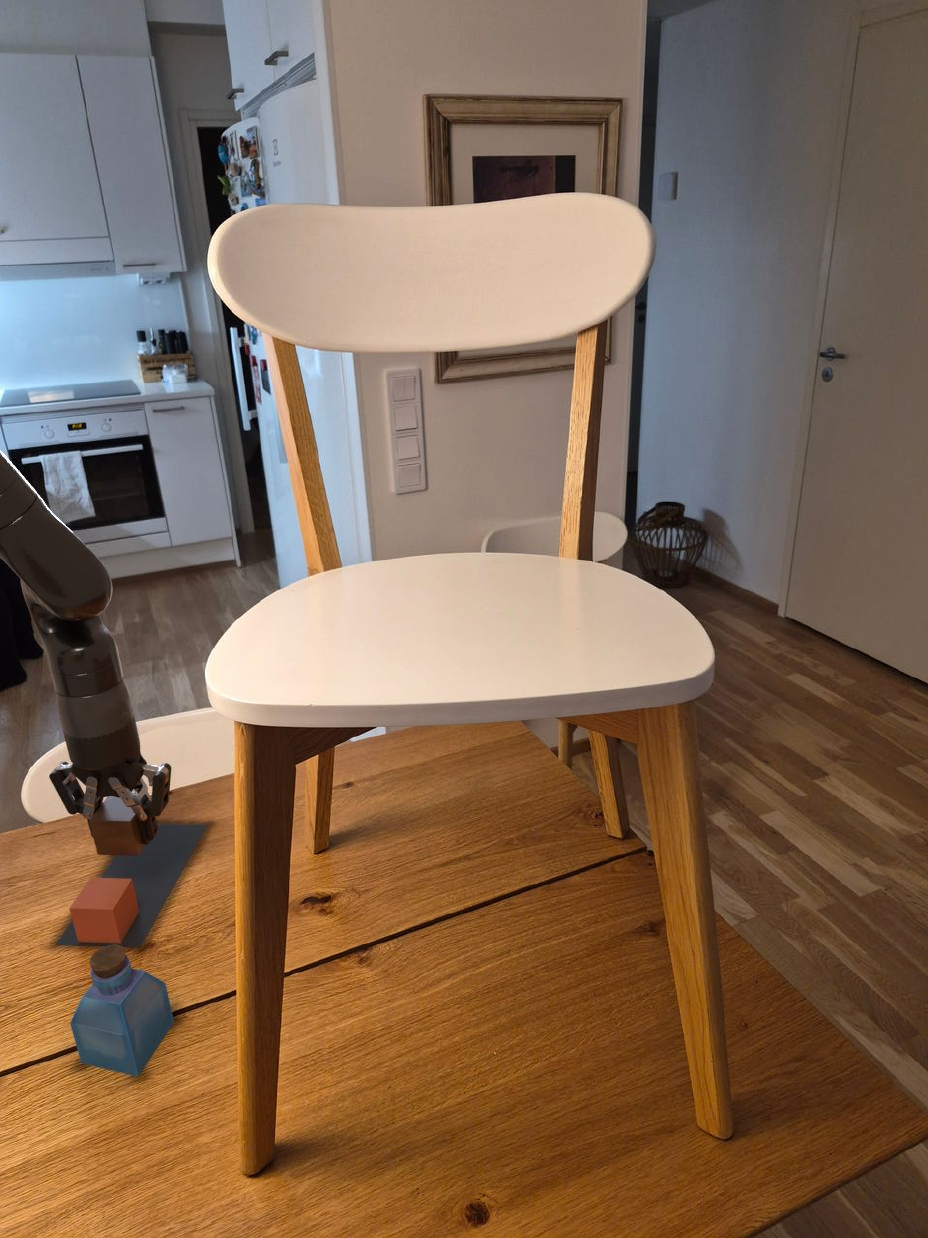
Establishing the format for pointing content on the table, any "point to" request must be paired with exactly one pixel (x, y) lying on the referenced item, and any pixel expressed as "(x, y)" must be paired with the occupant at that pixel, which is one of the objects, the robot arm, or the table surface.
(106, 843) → the walnut block
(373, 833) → the table surface
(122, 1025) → the perfume bottle
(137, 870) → the mat
